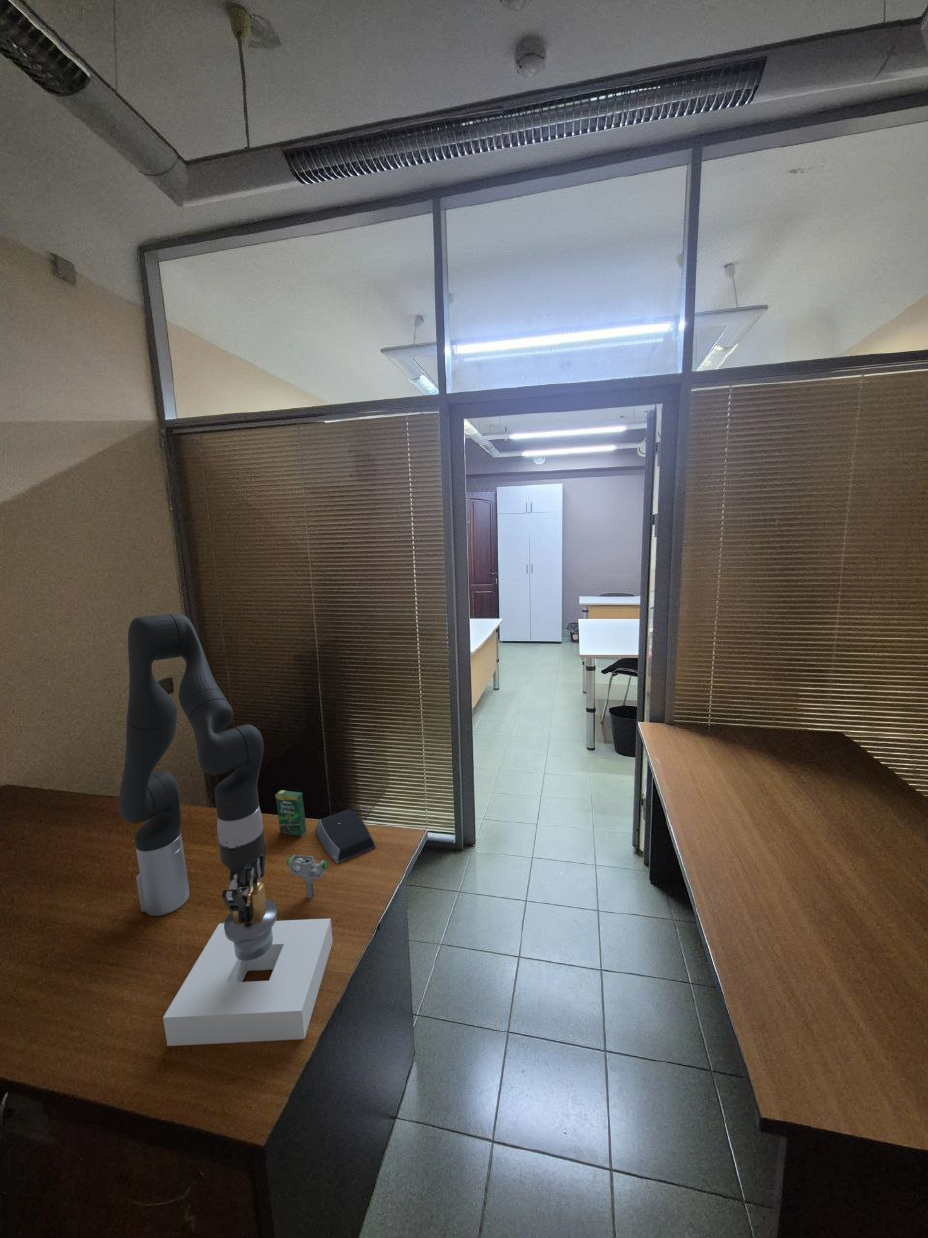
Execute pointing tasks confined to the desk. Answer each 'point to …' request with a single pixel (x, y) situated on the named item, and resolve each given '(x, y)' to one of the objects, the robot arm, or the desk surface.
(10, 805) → the desk surface
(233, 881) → the robot arm
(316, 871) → the mechanical component
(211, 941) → the housing
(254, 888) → the end cap
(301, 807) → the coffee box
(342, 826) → the external hard drive
